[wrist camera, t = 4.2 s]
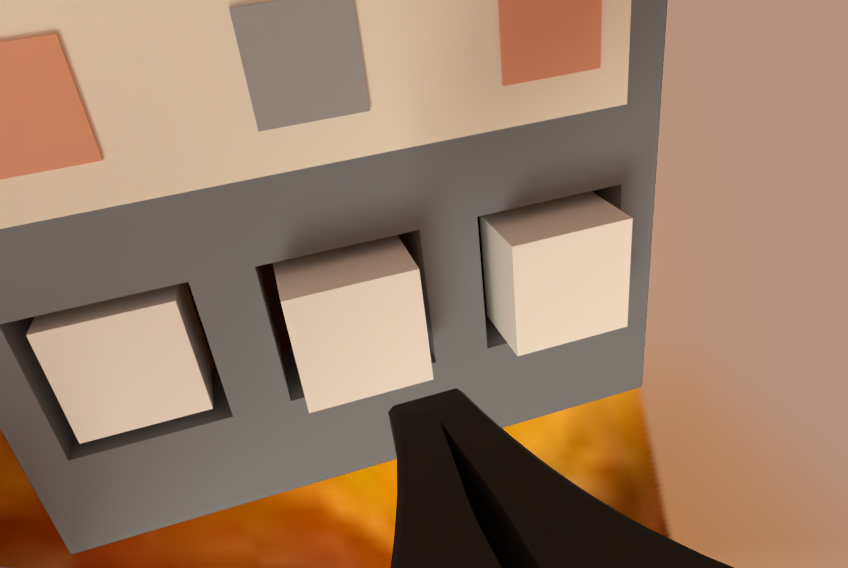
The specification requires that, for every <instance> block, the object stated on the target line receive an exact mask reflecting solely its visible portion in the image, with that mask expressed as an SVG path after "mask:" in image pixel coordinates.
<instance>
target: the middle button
mask: <svg viewBox="0 0 848 568" xmlns="http://www.w3.org/2000/svg"><path fill="white" fill-rule="evenodd" d="M273 267H274V272H275V277H276V282H277V287H278V292H279V297H280V302H281V306H282V310H283V314H284V318H285V321H286V325H287V329H288V333H289V337H290V341H291V345H292V349H293V353H294V357H295V361H296V364H297V368H298V372H299V376H300V380H301V384H302V388H303V392H304V396H305V400H306V404H307V408H308V411H309V413H312V412H316V411H320V410H323V409H327V408H331V407H334V406H338V405H342V404H345V403H349V402H353V401H356V400H360V399H364V398H367V397H371V396H375V395H378V394H382V393H386V392H389V391H393V390H397V389H400V388H404V387H408V386H411V385H415V384H419V383H422V382H426V381H430V380H433V371H432V363H431V356H430V348H429V340H428V332H427V325H426V317H425V309H424V302H423V294H422V286H421V279H420V271H419V268H418V266H417V265H416V263H415V262H414V260H413V258H412V257H411V255H410V254H409V252H408V251H407V249H406V248H405V246H404V244H403V243H402V241H401V240H400V238H399V237H398V235H394V236H390V237H385V238H381V239H376V240H372V241H367V242H363V243H359V244H354V245H350V246H345V247H341V248H336V249H332V250H327V251H323V252H319V253H314V254H310V255H305V256H301V257H296V258H292V259H288V260H283V261H279V262H274V263H273Z"/></svg>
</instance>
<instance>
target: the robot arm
mask: <svg viewBox="0 0 848 568" xmlns="http://www.w3.org/2000/svg"><path fill="white" fill-rule="evenodd" d="M388 414H389V419H390V425H391V430H392V435H393V440H394V445H395V451H396V456H397V509H396V523H395V536H394V545H393V554H392V561H391V568H733V567H731V566H728V565H726V564H724V563H721V562H719V561H716V560H714V559H711V558H709V557H707V556H704V555H702V554H700V553H698V552H696V551H694V550H692V549H690V548H688V547H685V546H684V545H681V544H679V543H677V542H675V541H673V540H671V539H669V538H667V537H665V536H663V535H661V534H659V533H657V532H654V531H652V530H650V529H649V528H647V527H645V526H643V525H641V524H640V523H638V522H636V521H634V520H632V519H630V518H629V517H627V516H625V515H623V514H621V513H620V512H618V511H616V510H615V509H613V508H611V507H610V506H608V505H606V504H605V503H603V502H601V501H600V500H598V499H597V498H595V497H593V496H592V495H590V494H589V493H587V492H586V491H584V490H583V489H581V488H580V487H578V486H577V485H575V484H574V483H572V482H571V481H569V480H568V479H567V478H565V477H564V476H562V475H561V474H559V473H558V472H557V471H555V470H554V469H552V468H551V467H550V466H548V465H547V464H546V463H544V462H543V461H542V460H540V459H539V458H538V457H536V456H535V455H534V454H533V453H531V452H530V451H529V450H528V449H526V448H525V447H524V446H523V445H521V444H520V443H519V442H518V441H516V440H515V439H514V438H513V437H511V436H510V435H509V434H508V433H507V432H506V431H504V430H503V429H502V428H501V427H500V426H499V425H497V424H496V423H495V422H494V421H493V420H492V419H491V418H490V417H488V416H487V415H486V414H485V413H484V412H483V411H482V410H481V409H480V408H479V407H478V406H477V405H476V404H474V403H473V402H472V401H471V400H470V399H469V398H468V397H467V396H466V395H465V394H464V393H463V392H462V391H461V390H459V389H457V388H455V389H451V390H448V391H444V392H440V393H437V394H433V395H430V396H426V397H423V398H419V399H416V400H412V401H408V402H405V403H401V404H398V405H394V406H393V407H392V408H391V409H390V411H389V412H388Z"/></svg>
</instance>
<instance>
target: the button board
mask: <svg viewBox="0 0 848 568" xmlns="http://www.w3.org/2000/svg"><path fill="white" fill-rule="evenodd" d="M666 14H667V0H0V430H1V432H2V433H3V435H4V437H5V439H6V440H7V442H8V444H9V446H10V447H11V449H12V451H13V453H14V455H15V456H16V458H17V460H18V462H19V463H20V465H21V467H22V469H23V470H24V472H25V474H26V476H27V478H28V479H29V481H30V483H31V485H32V486H33V488H34V490H35V492H36V494H37V495H38V497H39V499H40V501H41V502H42V504H43V506H44V508H45V509H46V511H47V513H48V515H49V517H50V518H51V520H52V522H53V524H54V525H55V527H56V529H57V531H58V532H59V534H60V536H61V538H62V540H63V541H64V543H65V545H66V547H67V548H68V550H69V552H70V554H74V553H78V552H81V551H85V550H88V549H92V548H95V547H98V546H102V545H105V544H109V543H112V542H115V541H119V540H122V539H126V538H129V537H132V536H136V535H139V534H143V533H146V532H149V531H153V530H156V529H160V528H163V527H166V526H170V525H173V524H177V523H180V522H183V521H187V520H190V519H194V518H197V517H200V516H204V515H207V514H211V513H214V512H217V511H221V510H224V509H228V508H231V507H234V506H238V505H241V504H245V503H248V502H251V501H255V500H258V499H262V498H265V497H268V496H272V495H275V494H279V493H282V492H285V491H289V490H292V489H296V488H299V487H302V486H306V485H309V484H313V483H316V482H319V481H323V480H326V479H330V478H333V477H336V476H340V475H343V474H347V473H350V472H353V471H357V470H360V469H364V468H367V467H370V466H374V465H377V464H381V463H384V462H387V461H391V460H394V459H397V456H396V451H395V445H394V440H393V435H392V430H391V425H390V419H389V414H388V412H389V411H390V409H391V408H392V407H393V406H394V405H398V404H401V403H405V402H408V401H412V400H416V399H419V398H423V397H426V396H430V395H433V394H437V393H440V392H444V391H448V390H451V389H455V388H457V389H459V390H461V391H462V392H463V393H464V394H465V395H466V396H467V397H468V398H469V399H470V400H471V401H472V402H473V403H474V404H476V405H477V406H478V407H479V408H480V409H481V410H482V411H483V412H484V413H485V414H486V415H487V416H488V417H490V418H491V419H492V420H493V421H494V422H495V423H496V424H497V425H499V426H500V427H501V428H503V427H506V426H510V425H513V424H517V423H520V422H523V421H527V420H530V419H534V418H537V417H540V416H544V415H547V414H551V413H554V412H557V411H561V410H564V409H568V408H571V407H574V406H578V405H581V404H585V403H588V402H591V401H595V400H598V399H602V398H605V397H608V396H612V395H615V394H619V393H622V392H625V391H629V390H632V389H636V388H639V387H642V377H643V362H644V346H645V332H646V317H647V302H648V285H649V270H650V255H651V241H652V226H653V211H654V194H655V181H656V166H657V151H658V135H659V120H660V104H661V90H662V74H663V60H664V45H665V30H666ZM589 191H592V192H593V193H595V194H596V195H598V196H600V197H601V198H603V199H604V200H606V201H607V202H609V203H610V204H612V205H613V206H615V207H616V208H618V209H619V210H621V211H623V212H624V213H626V214H627V215H629V216H630V217H632V218H633V223H632V244H631V264H630V284H629V304H628V324H627V327H624V328H620V329H617V330H613V331H609V332H606V333H602V334H598V335H595V336H591V337H587V338H584V339H580V340H576V341H573V342H569V343H565V344H562V345H558V346H554V347H551V348H547V349H543V350H540V351H536V352H532V353H529V354H525V355H521V356H517V355H516V354H515V352H514V351H513V350H512V348H511V347H510V346H509V344H508V343H507V342H506V340H505V339H504V338H503V336H502V335H501V334H500V332H499V331H498V330H497V328H496V327H495V326H494V324H493V323H492V322H491V320H490V319H489V318H488V316H487V309H486V299H484V297H483V284H482V271H481V258H480V245H479V232H478V219H477V217H478V216H483V215H487V214H492V213H496V212H501V211H505V210H509V209H514V208H518V207H523V206H527V205H532V204H536V203H540V202H545V201H549V200H554V199H558V198H563V197H567V196H572V195H576V194H580V193H585V192H589ZM398 234H400V237H401V241H402V243H403V244H404V246H405V248H406V249H407V251H408V252H409V254H410V255H411V257H412V258H413V260H414V262H415V263H416V265H417V266H418V268H419V271H420V279H421V286H422V294H423V302H424V309H425V317H426V325H427V332H428V340H429V348H430V356H431V363H432V371H433V380H430V381H426V382H422V383H419V384H415V385H411V386H408V387H404V388H400V389H397V390H393V391H389V392H386V393H382V394H378V395H375V396H371V397H367V398H364V399H360V400H356V401H353V402H349V403H345V404H342V405H338V406H334V407H331V408H327V409H323V410H320V411H316V412H312V413H309V411H308V408H307V404H306V400H305V396H304V392H303V388H302V384H301V380H300V376H299V372H298V368H297V364H296V361H295V357H294V353H293V349H292V348H289V349H285V350H282V349H281V346H280V342H279V338H278V334H277V331H276V327H275V323H274V319H273V316H272V312H271V308H270V304H269V300H268V297H267V293H266V289H265V285H264V282H263V278H262V274H261V270H260V267H259V266H261V265H265V264H270V263H274V262H279V261H283V260H288V259H292V258H296V257H301V256H305V255H310V254H314V253H319V252H323V251H327V250H332V249H336V248H341V247H345V246H350V245H354V244H359V243H363V242H367V241H372V240H376V239H381V238H385V237H390V236H394V235H398ZM185 282H189V285H190V288H191V291H192V294H193V297H194V300H195V303H196V306H197V309H198V312H199V315H200V318H201V321H202V324H203V327H204V331H205V334H206V337H207V340H208V343H209V346H210V349H211V352H212V355H213V358H214V361H215V364H216V367H214V368H213V409H210V410H206V411H203V412H199V413H195V414H191V415H187V416H184V417H180V418H176V419H172V420H169V421H165V422H161V423H157V424H153V425H150V426H146V427H142V428H138V429H134V430H131V431H127V432H123V433H119V434H115V435H112V436H108V437H104V438H100V439H97V440H93V441H89V442H85V443H81V444H79V442H78V440H77V438H76V436H75V434H74V432H73V430H72V428H71V426H70V424H69V422H68V420H67V418H66V416H65V414H64V411H63V409H62V407H61V405H60V403H59V401H58V399H57V397H56V395H55V393H54V391H53V389H52V387H51V385H50V383H49V381H48V379H47V377H46V375H45V373H44V371H43V369H42V367H41V365H40V363H39V361H38V359H37V357H36V355H35V353H34V351H33V349H32V347H31V345H30V343H29V341H28V339H27V337H26V334H27V332H28V330H29V328H30V325H31V323H32V321H33V319H34V317H35V316H39V315H43V314H48V313H52V312H57V311H61V310H66V309H70V308H74V307H79V306H83V305H88V304H92V303H97V302H101V301H106V300H110V299H114V298H119V297H123V296H128V295H132V294H137V293H141V292H145V291H150V290H154V289H159V288H163V287H168V286H172V285H177V284H181V283H185Z"/></svg>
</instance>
